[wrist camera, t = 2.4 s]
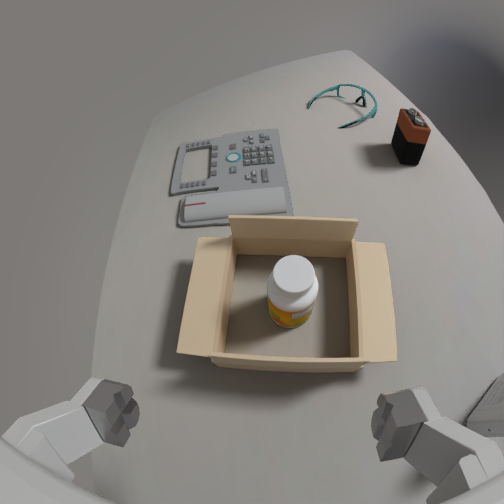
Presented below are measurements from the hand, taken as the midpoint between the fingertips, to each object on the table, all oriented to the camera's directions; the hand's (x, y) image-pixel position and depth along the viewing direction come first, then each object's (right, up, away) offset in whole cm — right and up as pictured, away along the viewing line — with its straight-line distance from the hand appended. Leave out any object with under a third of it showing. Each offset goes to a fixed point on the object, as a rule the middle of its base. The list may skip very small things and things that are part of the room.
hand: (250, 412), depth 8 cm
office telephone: (-4, +18, +41) cm, 45 cm away
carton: (+5, -2, +27) cm, 27 cm away
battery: (+31, +24, +40) cm, 56 cm away
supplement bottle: (+5, -2, +27) cm, 27 cm away
